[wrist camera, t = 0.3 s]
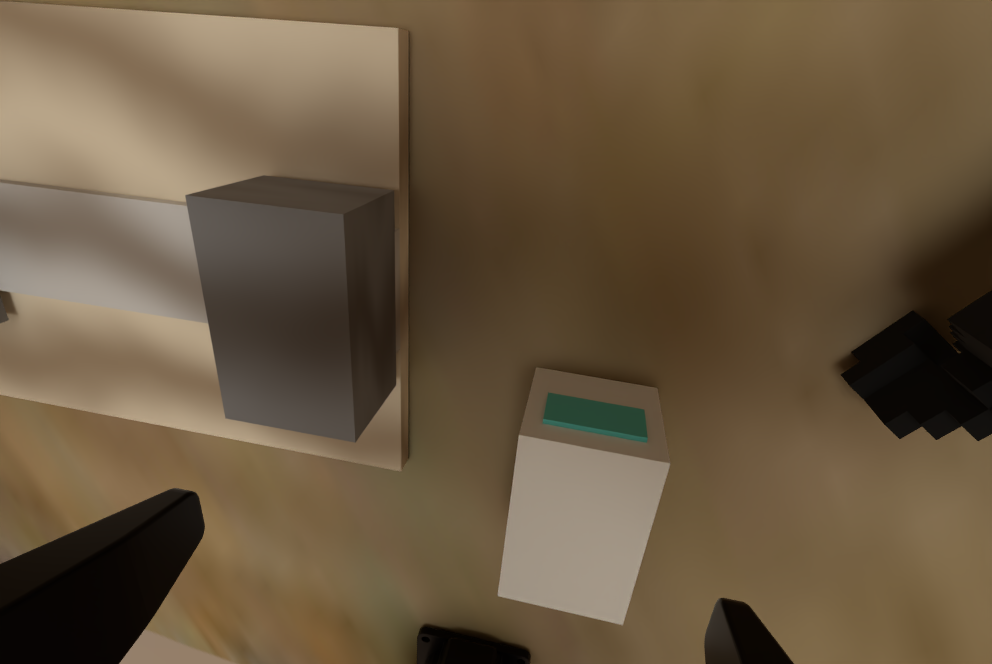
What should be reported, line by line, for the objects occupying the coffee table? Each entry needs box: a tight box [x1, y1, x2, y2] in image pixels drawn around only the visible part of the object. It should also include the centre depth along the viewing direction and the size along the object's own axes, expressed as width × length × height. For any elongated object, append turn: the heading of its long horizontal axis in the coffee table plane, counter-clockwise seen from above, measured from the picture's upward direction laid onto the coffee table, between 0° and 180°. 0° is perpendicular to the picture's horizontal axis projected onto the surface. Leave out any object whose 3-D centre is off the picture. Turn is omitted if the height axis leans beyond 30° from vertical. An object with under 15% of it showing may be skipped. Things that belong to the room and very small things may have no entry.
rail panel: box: [0, 1, 409, 471], centre depth 21 cm, size 18×24×6 cm
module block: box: [498, 367, 670, 625], centre depth 21 cm, size 8×5×5 cm, turn 175°
